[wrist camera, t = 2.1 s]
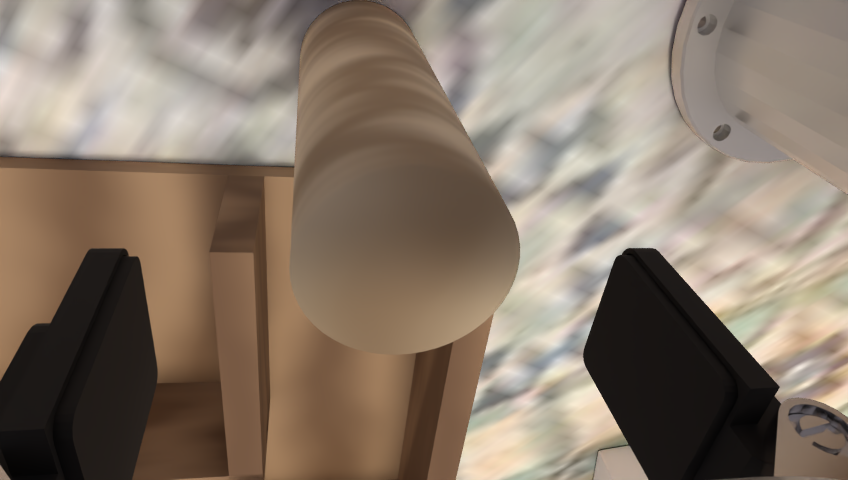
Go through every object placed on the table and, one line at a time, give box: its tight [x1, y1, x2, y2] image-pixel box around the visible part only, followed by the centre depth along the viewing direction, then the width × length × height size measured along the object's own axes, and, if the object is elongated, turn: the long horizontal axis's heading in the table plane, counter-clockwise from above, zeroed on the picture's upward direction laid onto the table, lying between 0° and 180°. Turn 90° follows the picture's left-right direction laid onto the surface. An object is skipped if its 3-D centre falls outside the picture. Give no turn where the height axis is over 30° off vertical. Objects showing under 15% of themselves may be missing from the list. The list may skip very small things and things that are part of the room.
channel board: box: [0, 157, 494, 480], centre depth 30 cm, size 24×24×7 cm
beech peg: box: [289, 0, 520, 355], centre depth 19 cm, size 5×5×15 cm
